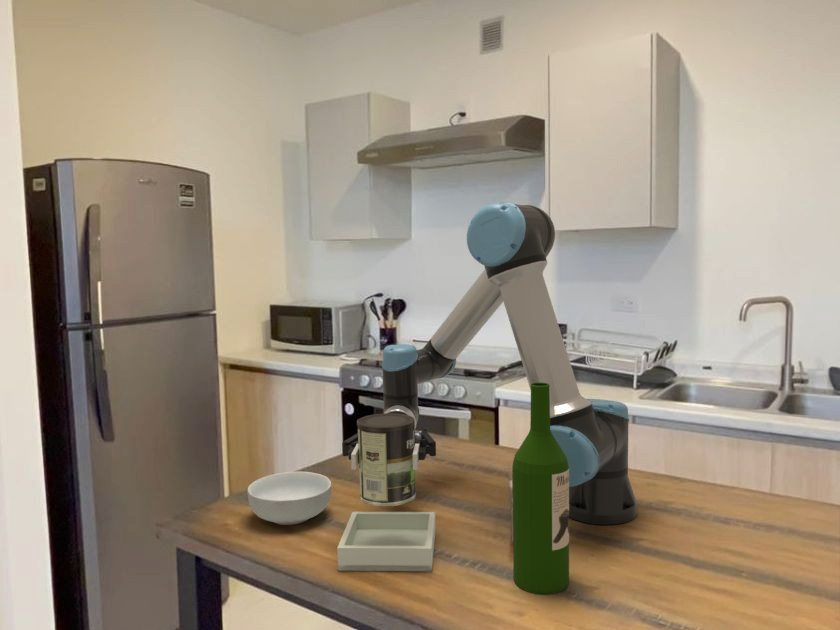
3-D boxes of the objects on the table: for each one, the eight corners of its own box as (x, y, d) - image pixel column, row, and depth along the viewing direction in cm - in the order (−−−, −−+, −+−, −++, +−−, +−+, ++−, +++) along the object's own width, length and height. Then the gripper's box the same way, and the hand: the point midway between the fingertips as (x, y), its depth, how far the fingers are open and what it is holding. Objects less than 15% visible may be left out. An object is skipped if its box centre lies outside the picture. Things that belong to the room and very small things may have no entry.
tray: (435, 532, 131) (435, 512, 130) (431, 571, 115) (431, 548, 114) (353, 531, 132) (352, 511, 131) (338, 570, 116) (337, 547, 115)
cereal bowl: (231, 528, 135) (230, 494, 134) (277, 499, 150) (275, 468, 150) (307, 539, 129) (305, 503, 128) (346, 507, 144) (345, 475, 144)
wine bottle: (556, 600, 104) (556, 392, 101) (504, 585, 109) (502, 386, 106) (577, 576, 112) (577, 381, 109) (527, 563, 117) (525, 377, 114)
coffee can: (417, 486, 127) (415, 412, 126) (415, 506, 117) (413, 426, 116) (362, 486, 128) (360, 413, 126) (355, 507, 117) (353, 427, 116)
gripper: (451, 445, 139) (449, 483, 117) (342, 446, 141) (320, 482, 118) (451, 410, 138) (449, 440, 116) (341, 410, 140) (318, 440, 118)
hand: (384, 462), depth 117 cm, fingers closed on coffee can, 10 cm apart
